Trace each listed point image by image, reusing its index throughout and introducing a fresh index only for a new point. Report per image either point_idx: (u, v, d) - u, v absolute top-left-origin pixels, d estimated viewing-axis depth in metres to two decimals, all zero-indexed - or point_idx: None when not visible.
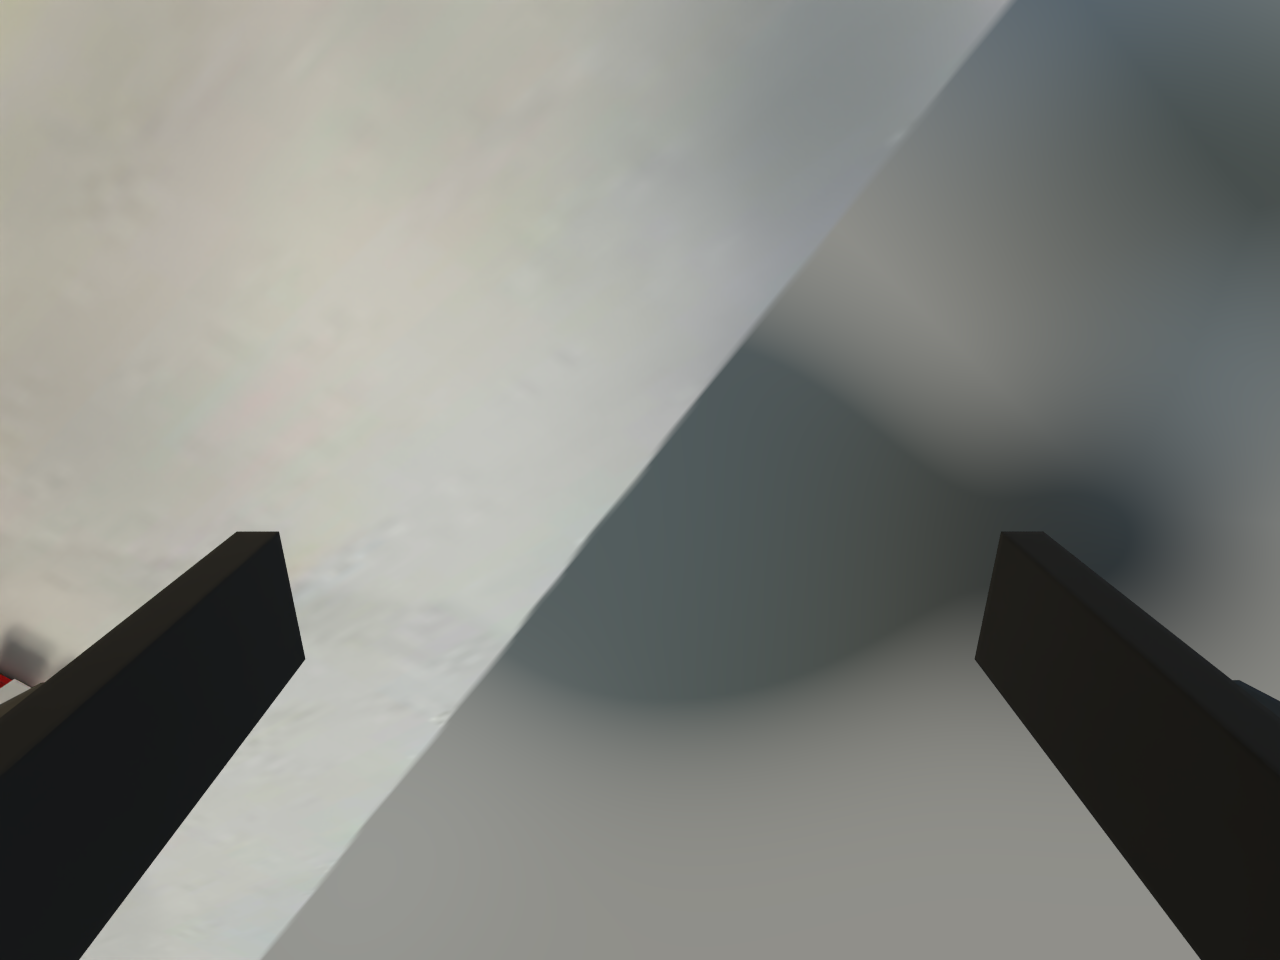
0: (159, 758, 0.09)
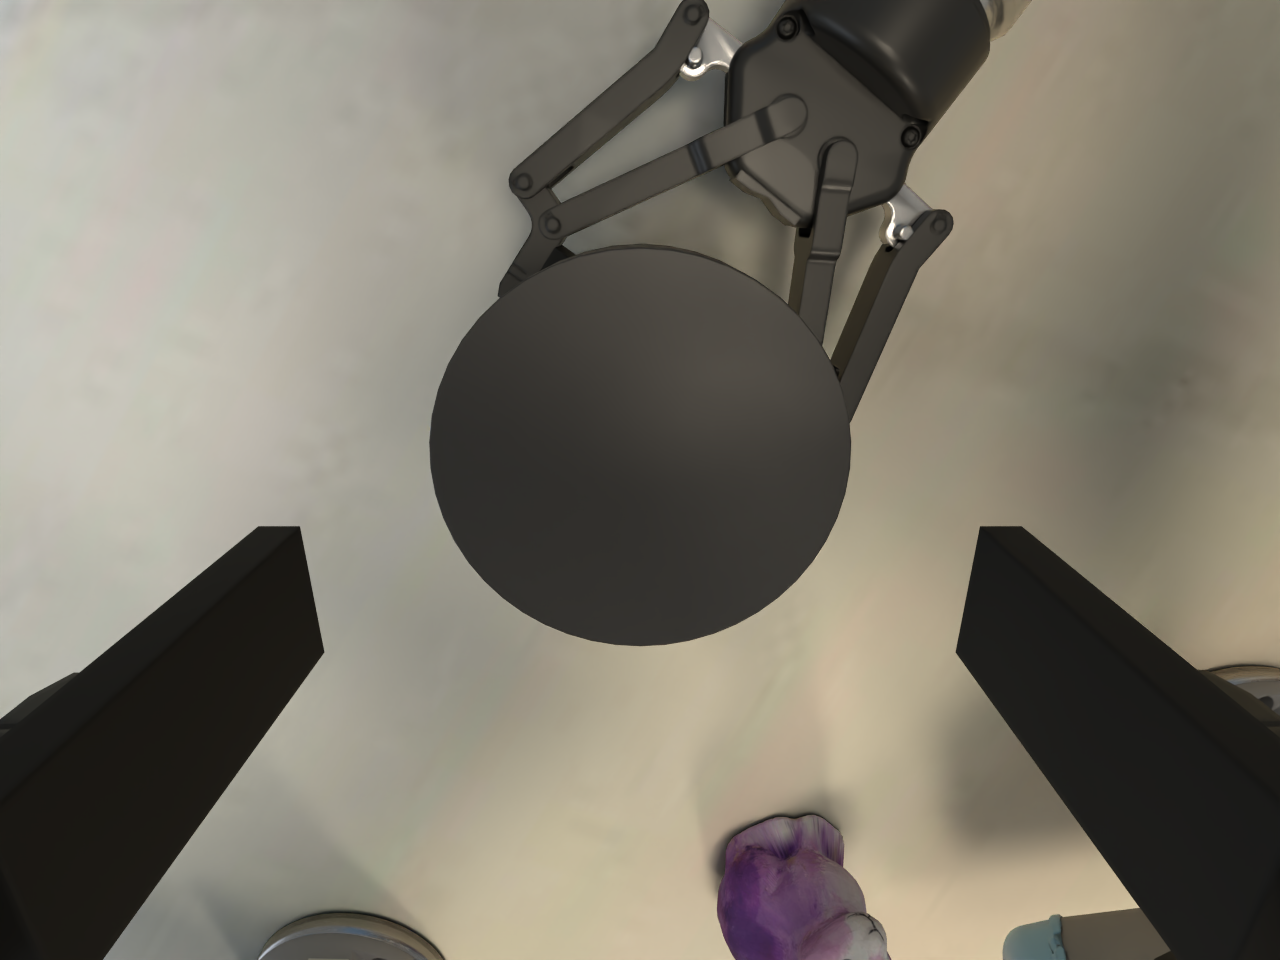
0: (190, 746, 0.09)
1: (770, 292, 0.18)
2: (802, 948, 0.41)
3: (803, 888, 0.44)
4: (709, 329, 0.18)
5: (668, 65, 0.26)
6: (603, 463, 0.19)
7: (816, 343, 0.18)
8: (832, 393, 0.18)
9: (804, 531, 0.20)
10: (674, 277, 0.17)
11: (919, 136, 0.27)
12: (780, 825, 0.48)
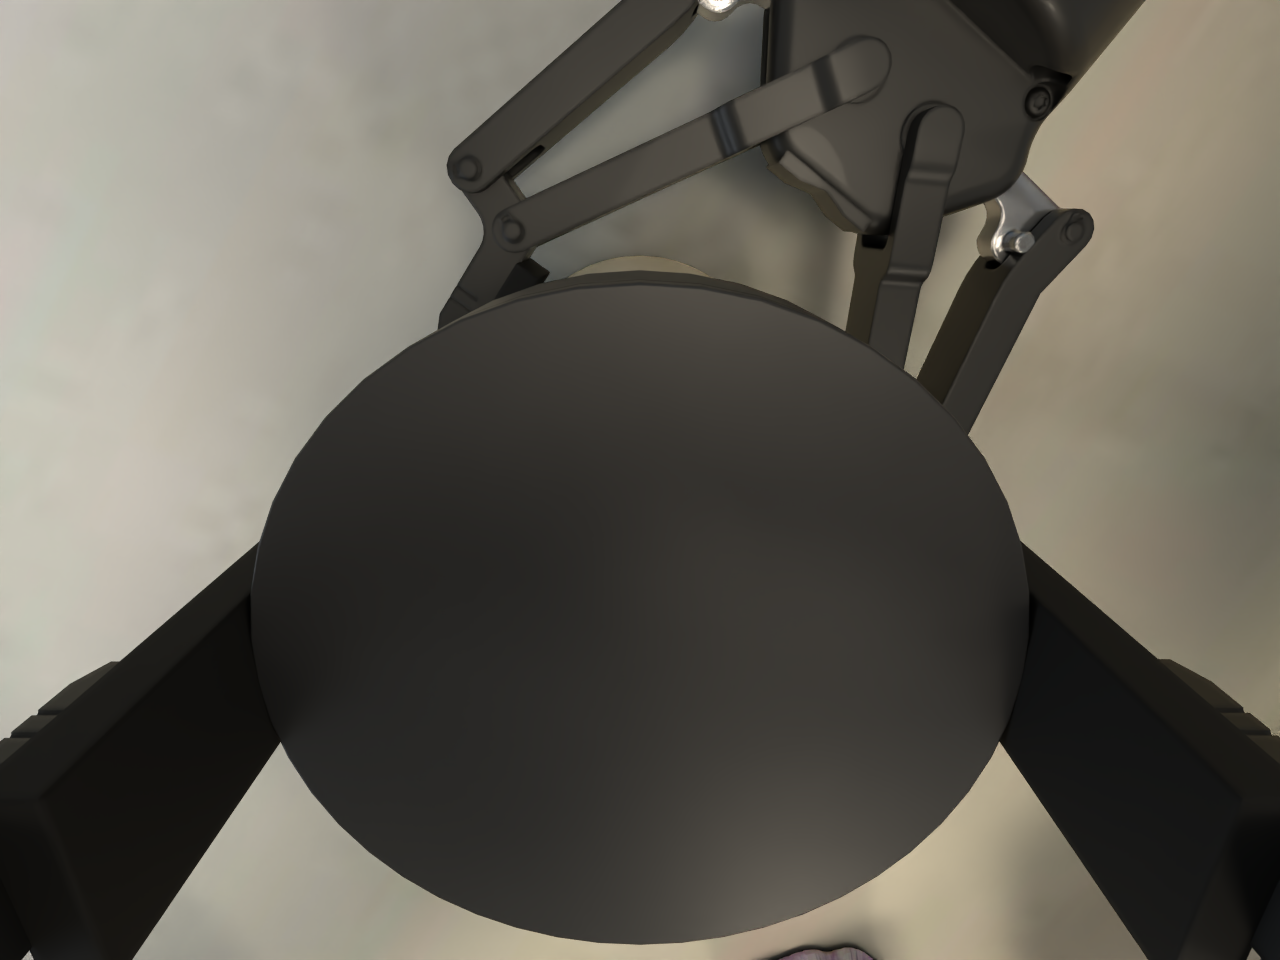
0: (225, 733, 0.10)
1: (897, 370, 0.09)
2: None
3: None
4: (774, 439, 0.09)
5: None
6: (572, 671, 0.10)
7: (981, 465, 0.09)
8: (1003, 554, 0.10)
9: (931, 778, 0.11)
10: (708, 341, 0.09)
11: (1050, 100, 0.18)
12: None
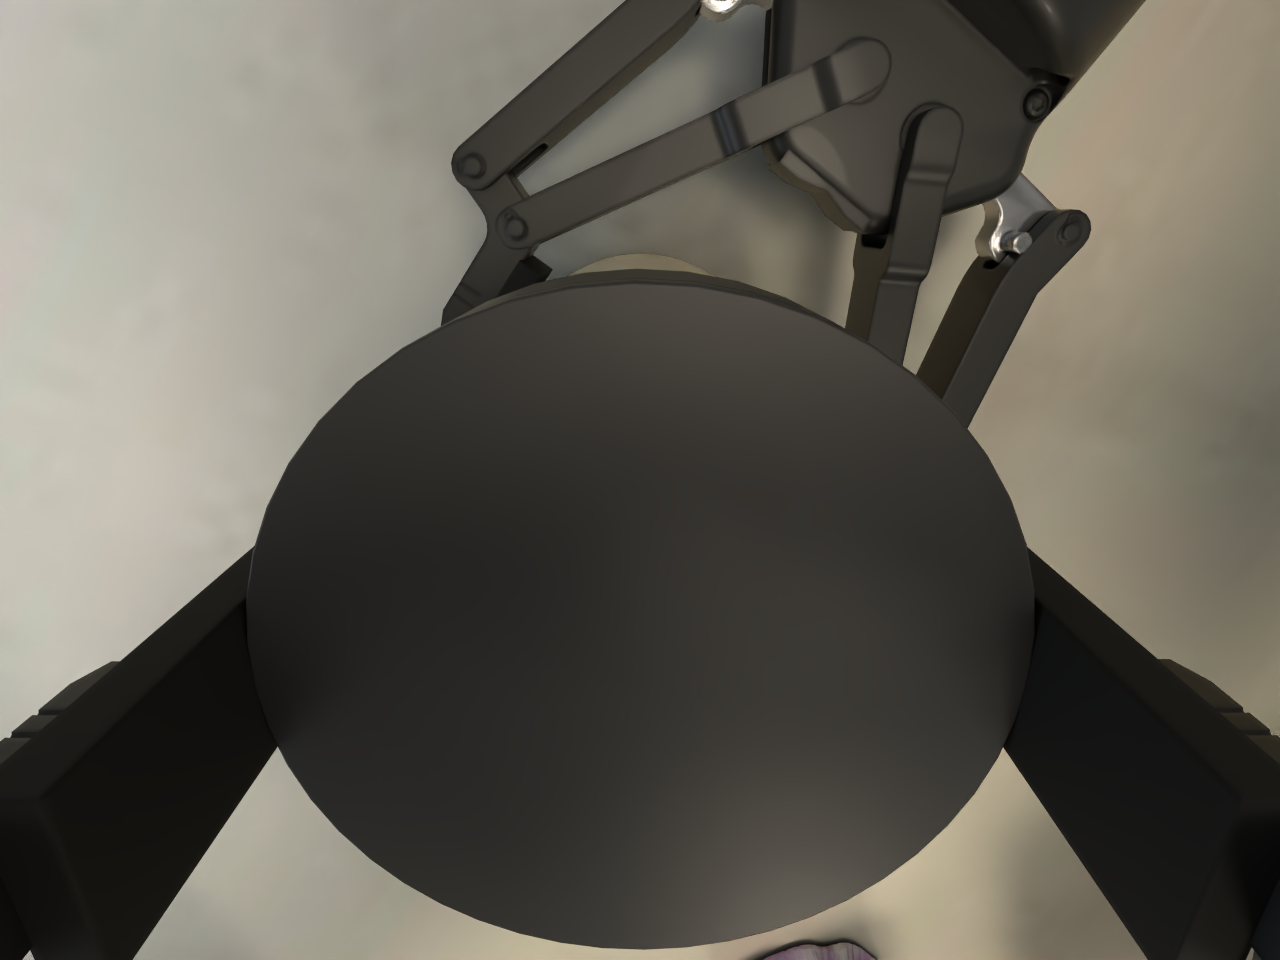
0: (225, 734, 0.10)
1: (252, 572, 0.10)
2: None
3: None
4: (357, 644, 0.10)
5: None
6: (648, 737, 0.11)
7: (295, 465, 0.09)
8: (370, 401, 0.09)
9: (686, 344, 0.09)
10: (304, 712, 0.11)
11: (1048, 102, 0.19)
12: (807, 957, 0.40)
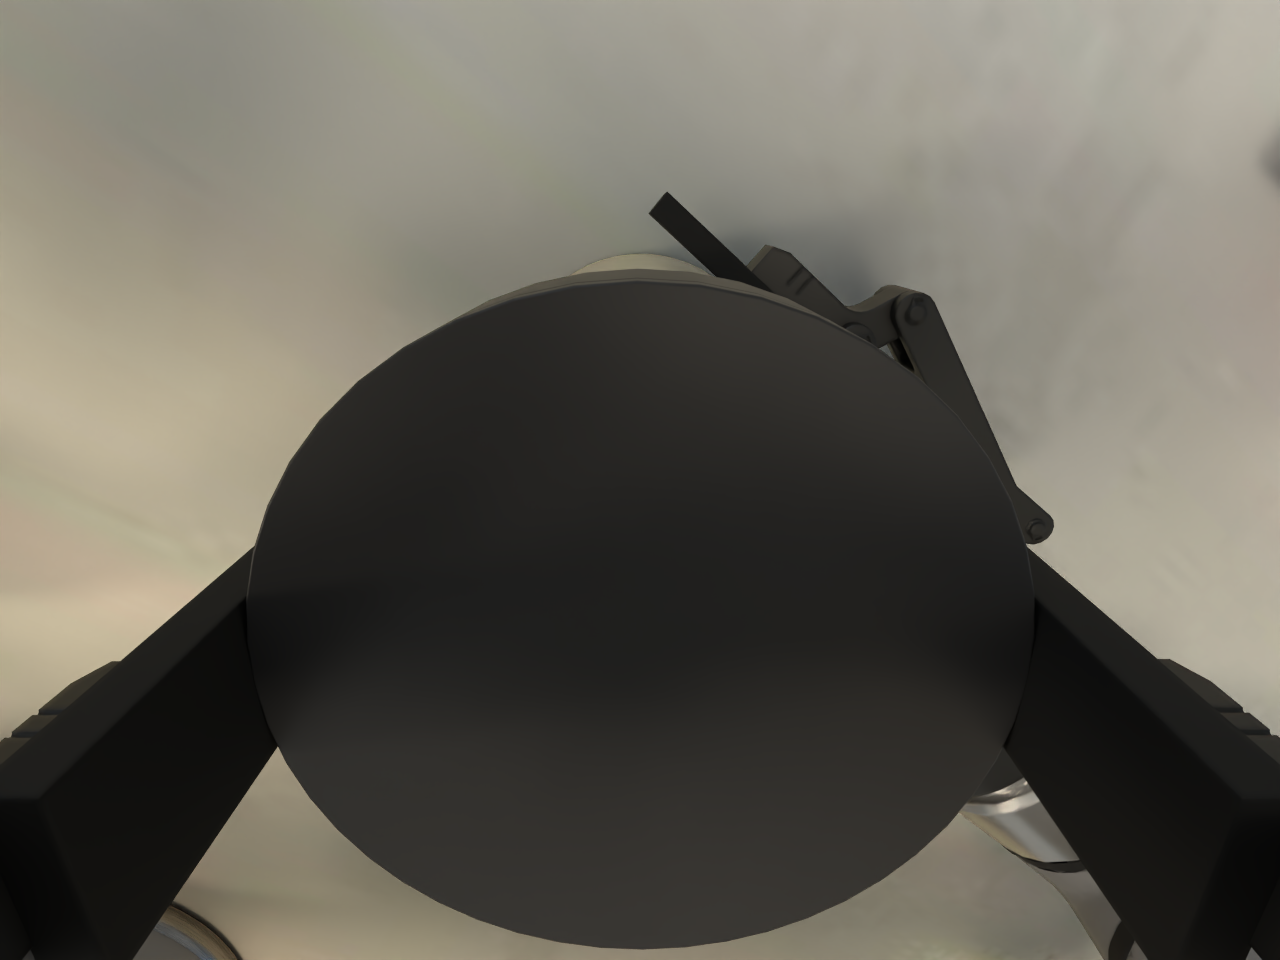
0: (225, 733, 0.10)
1: (252, 570, 0.10)
2: None
3: None
4: (357, 642, 0.10)
5: None
6: (648, 737, 0.11)
7: (296, 464, 0.09)
8: (372, 399, 0.09)
9: (688, 345, 0.09)
10: (303, 710, 0.11)
11: None
12: None
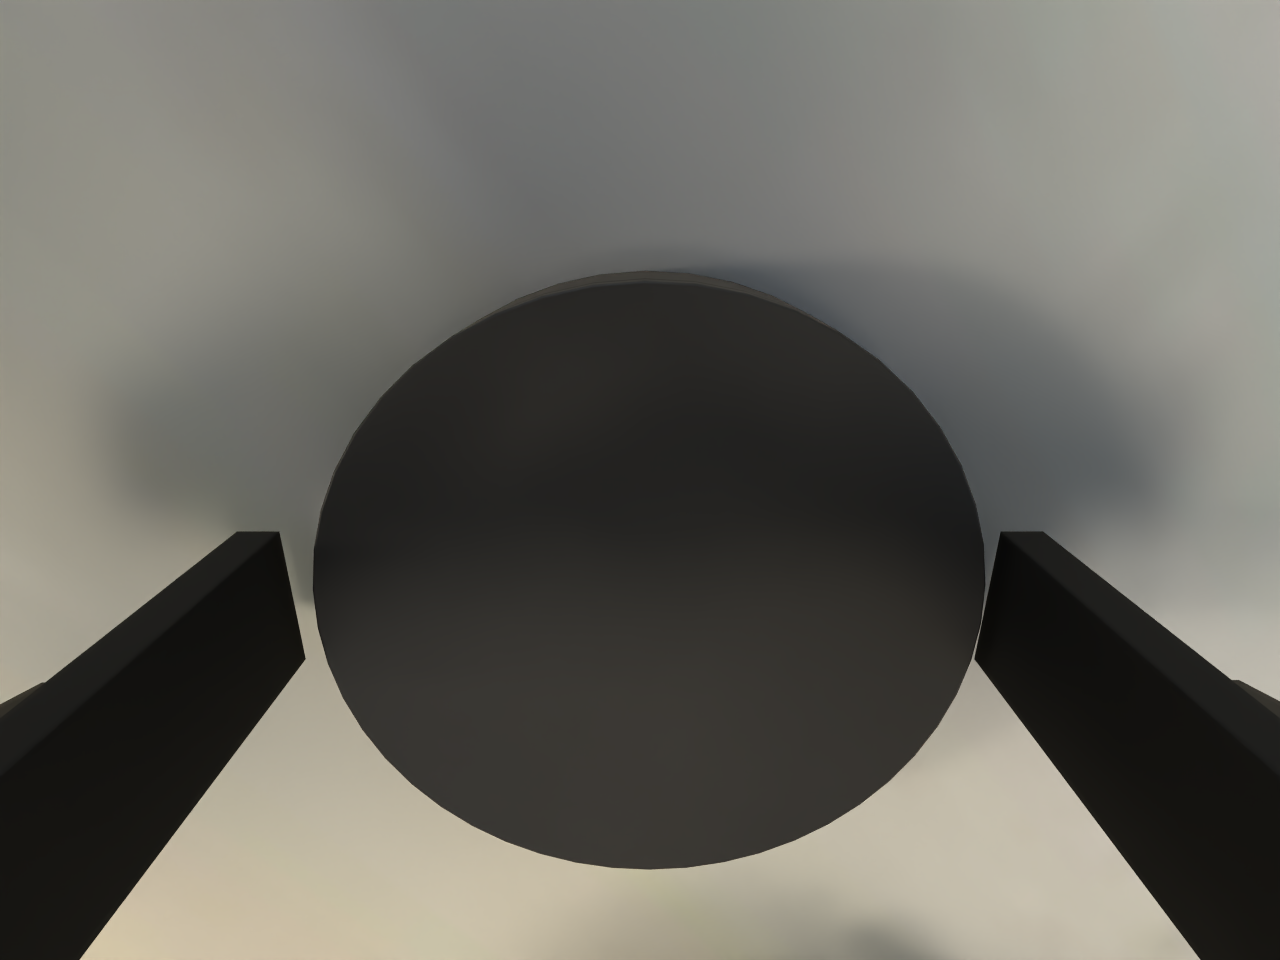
0: (159, 758, 0.09)
1: (319, 527, 0.12)
2: None
3: None
4: (406, 590, 0.12)
5: None
6: (654, 674, 0.13)
7: (359, 435, 0.11)
8: (424, 381, 0.11)
9: (687, 334, 0.10)
10: (359, 651, 0.12)
11: None
12: None
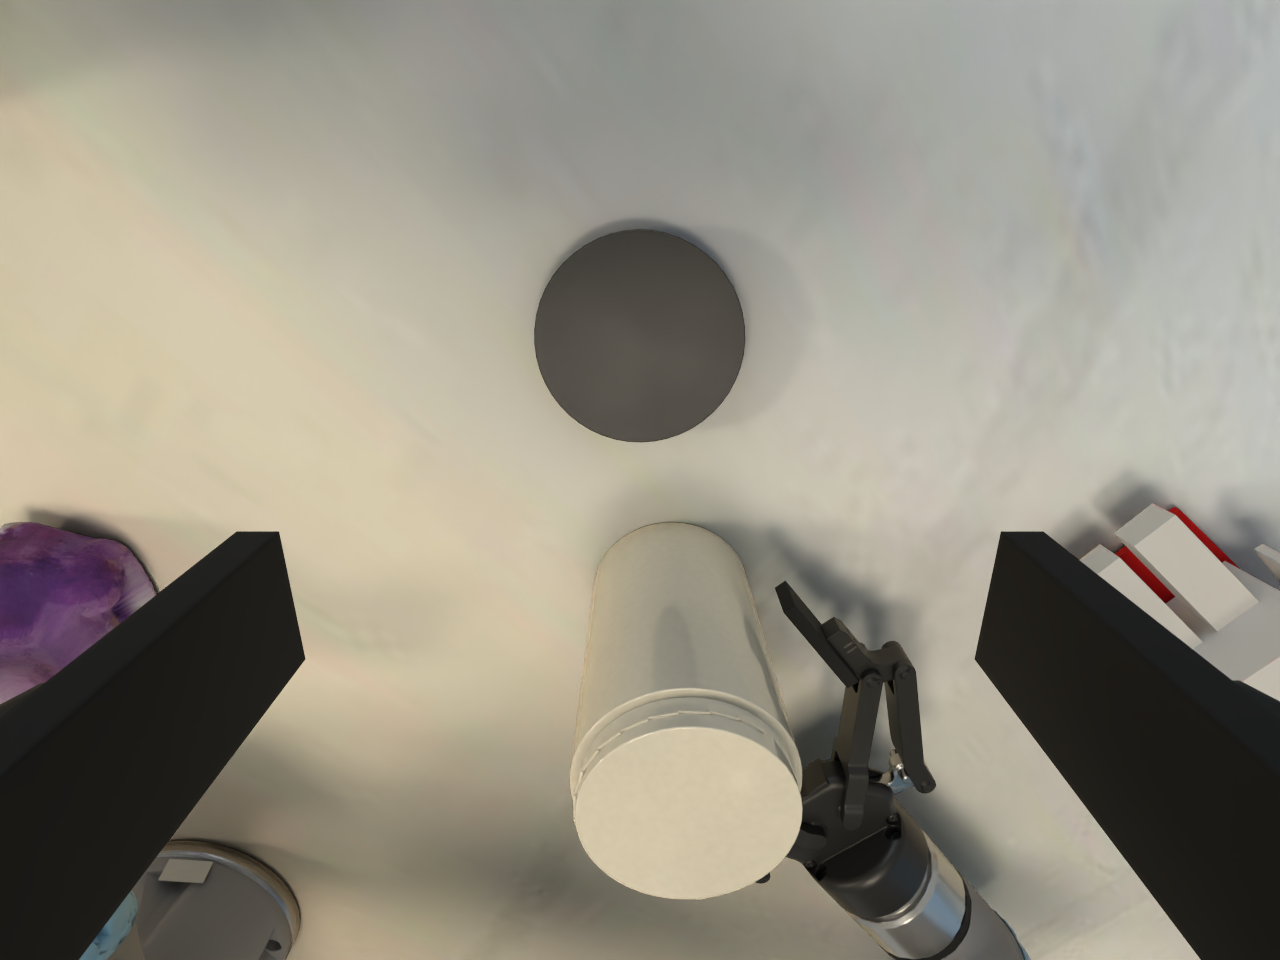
0: (160, 758, 0.09)
1: (539, 307, 0.38)
2: (36, 671, 0.38)
3: None
4: (564, 329, 0.38)
5: (911, 767, 0.42)
6: (641, 360, 0.39)
7: (554, 276, 0.37)
8: (574, 259, 0.37)
9: (650, 245, 0.37)
10: (547, 352, 0.39)
11: (808, 866, 0.46)
12: (148, 600, 0.46)
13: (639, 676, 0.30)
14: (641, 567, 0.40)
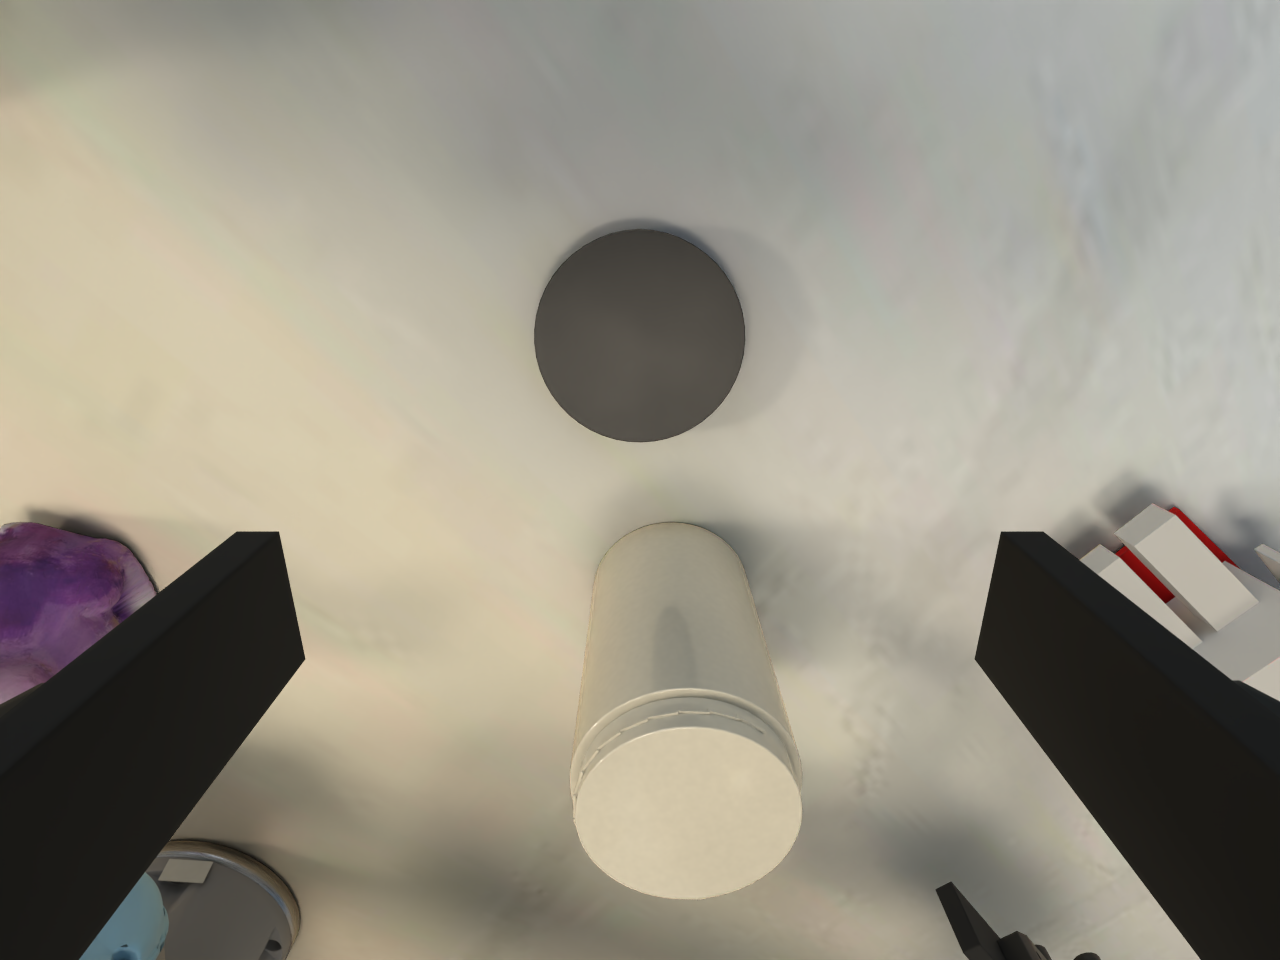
0: (160, 759, 0.09)
1: (539, 307, 0.38)
2: (36, 671, 0.38)
3: None
4: (564, 329, 0.38)
5: None
6: (641, 360, 0.39)
7: (554, 276, 0.37)
8: (574, 259, 0.37)
9: (650, 245, 0.37)
10: (547, 352, 0.39)
11: None
12: (148, 600, 0.46)
13: (639, 676, 0.30)
14: (641, 567, 0.40)
